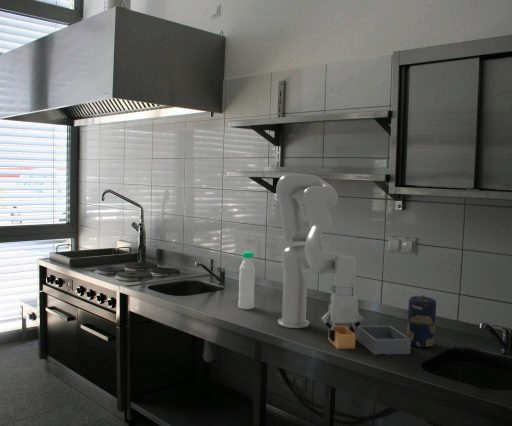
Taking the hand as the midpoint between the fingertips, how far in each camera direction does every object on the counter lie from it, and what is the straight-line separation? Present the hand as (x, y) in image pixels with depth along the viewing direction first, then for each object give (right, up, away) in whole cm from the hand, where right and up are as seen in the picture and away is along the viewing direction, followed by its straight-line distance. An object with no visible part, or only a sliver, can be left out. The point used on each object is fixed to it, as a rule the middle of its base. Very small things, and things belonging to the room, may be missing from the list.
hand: (341, 339), depth 184 cm
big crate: (+14, -2, -1) cm, 15 cm away
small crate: (0, -2, 0) cm, 2 cm away
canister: (+29, -3, +3) cm, 29 cm away
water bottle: (-35, +3, +45) cm, 57 cm away
